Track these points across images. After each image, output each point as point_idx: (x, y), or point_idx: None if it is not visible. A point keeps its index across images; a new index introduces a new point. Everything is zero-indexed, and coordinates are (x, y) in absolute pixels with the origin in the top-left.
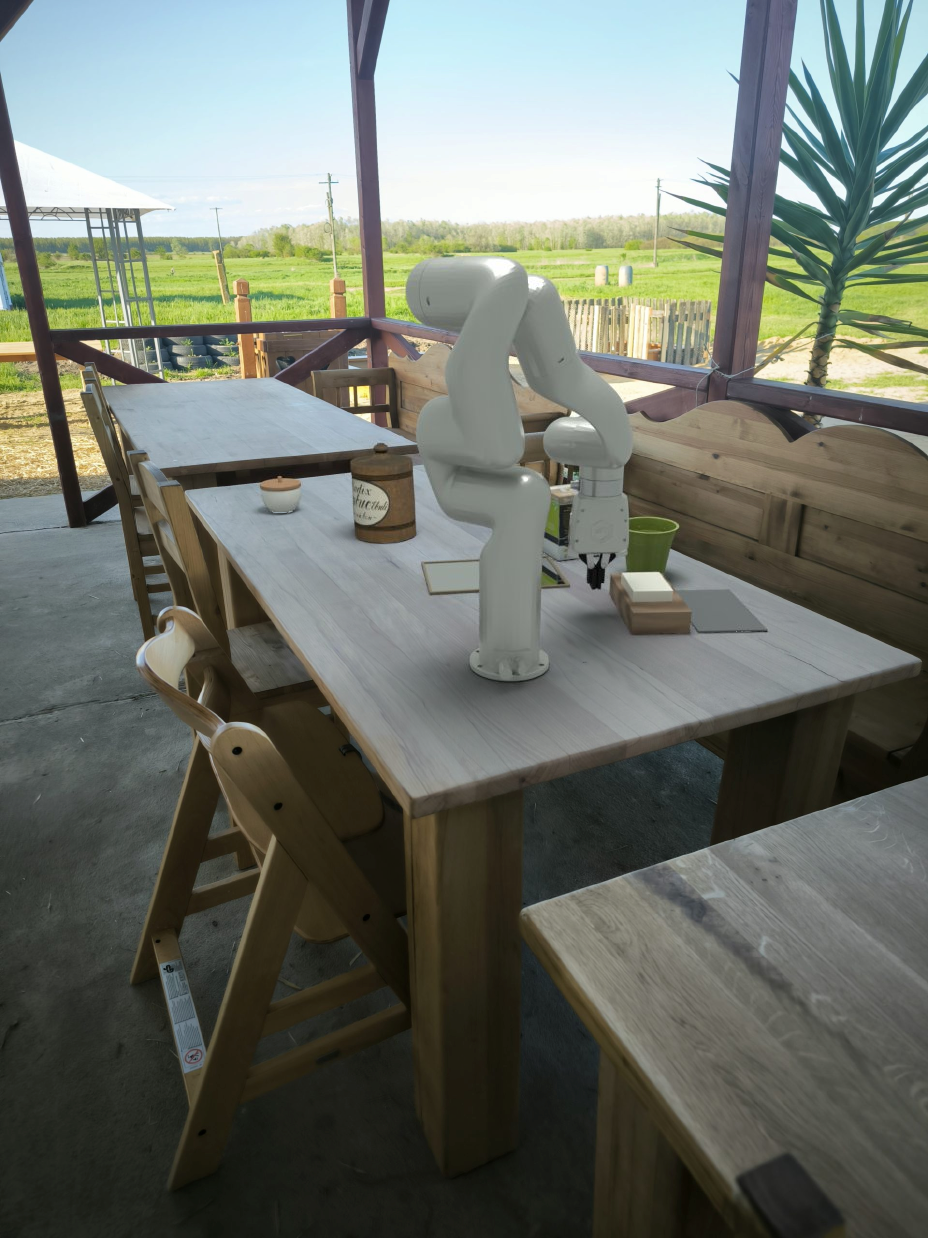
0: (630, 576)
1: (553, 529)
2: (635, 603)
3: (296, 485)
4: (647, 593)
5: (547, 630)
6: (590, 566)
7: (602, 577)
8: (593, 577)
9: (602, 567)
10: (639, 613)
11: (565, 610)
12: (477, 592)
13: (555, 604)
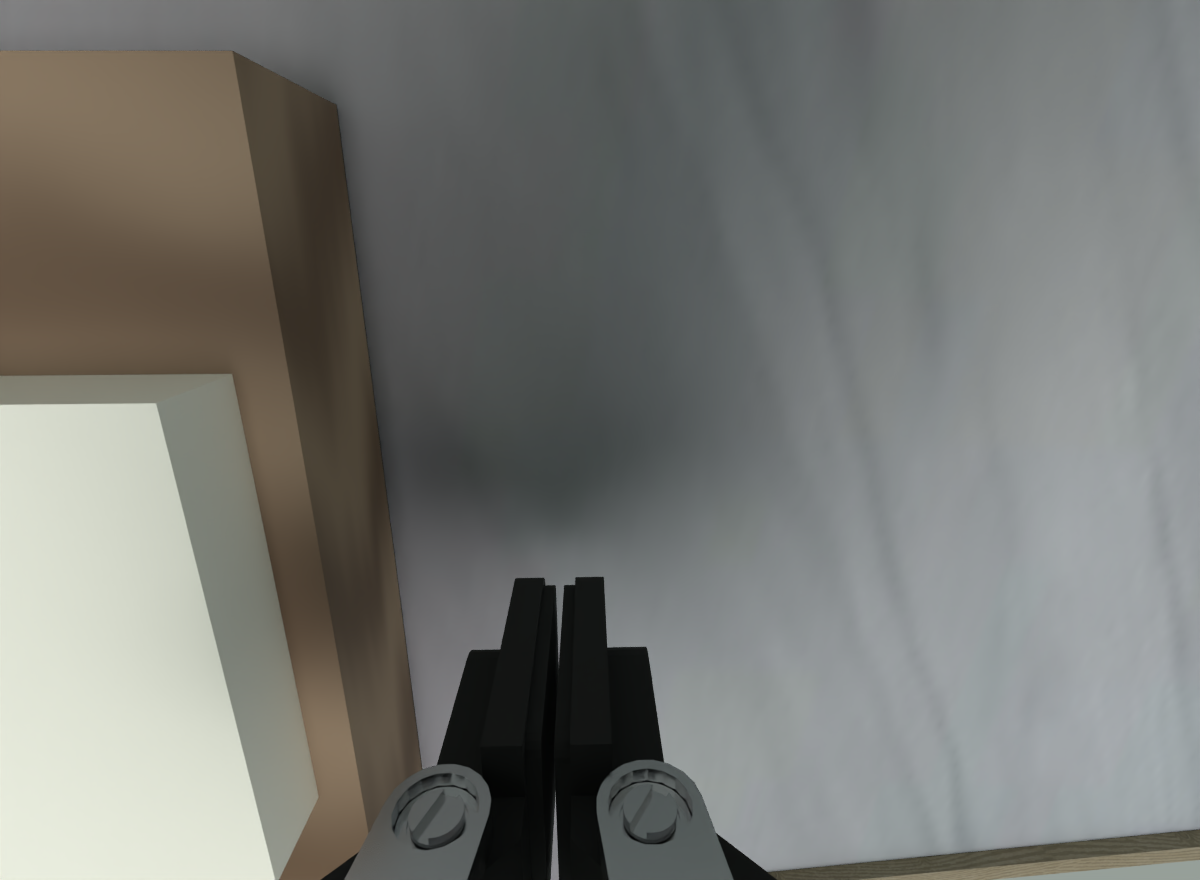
0: (194, 804)
1: None
2: (206, 336)
3: None
4: (12, 399)
5: (965, 228)
6: (653, 795)
7: (484, 688)
8: (601, 657)
9: (471, 776)
10: (168, 51)
11: (745, 574)
12: (1187, 831)
13: (786, 665)
